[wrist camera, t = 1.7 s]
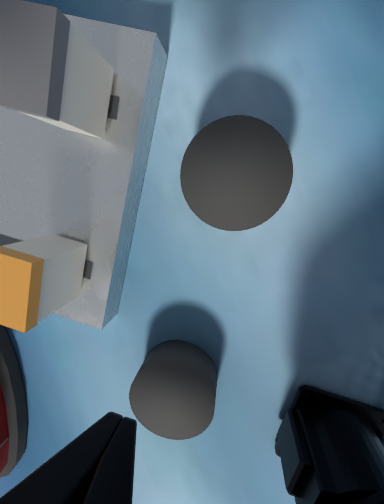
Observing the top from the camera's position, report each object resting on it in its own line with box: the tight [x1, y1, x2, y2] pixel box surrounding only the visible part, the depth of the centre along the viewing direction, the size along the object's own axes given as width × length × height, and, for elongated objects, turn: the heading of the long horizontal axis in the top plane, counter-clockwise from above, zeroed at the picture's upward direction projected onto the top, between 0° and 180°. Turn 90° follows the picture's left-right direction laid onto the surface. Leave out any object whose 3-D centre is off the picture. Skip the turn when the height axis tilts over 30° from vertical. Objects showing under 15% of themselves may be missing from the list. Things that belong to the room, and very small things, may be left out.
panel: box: [0, 14, 168, 329], centre depth 18 cm, size 14×18×3 cm
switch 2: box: [0, 234, 88, 333], centre depth 15 cm, size 2×4×5 cm
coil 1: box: [129, 340, 217, 440], centre depth 19 cm, size 6×6×3 cm
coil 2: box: [180, 115, 293, 231], centre depth 16 cm, size 6×6×3 cm
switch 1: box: [0, 0, 114, 139], centre depth 12 cm, size 2×4×5 cm
